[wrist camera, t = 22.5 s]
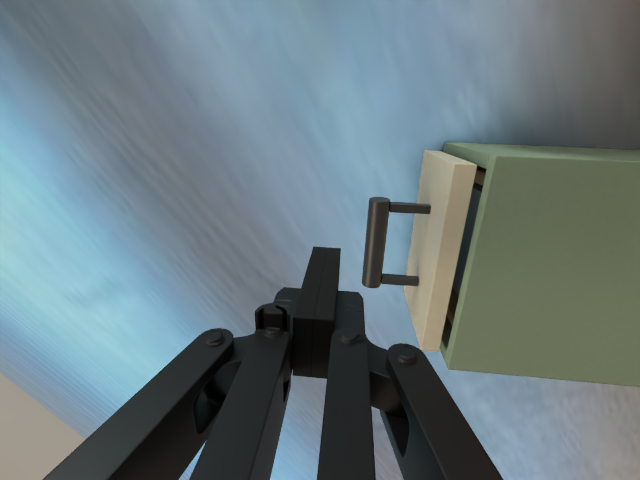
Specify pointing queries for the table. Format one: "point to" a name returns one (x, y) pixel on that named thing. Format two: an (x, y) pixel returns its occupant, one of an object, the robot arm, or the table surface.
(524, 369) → the cabinet
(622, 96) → the table surface
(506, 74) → the table surface
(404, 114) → the table surface
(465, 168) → the drawer
